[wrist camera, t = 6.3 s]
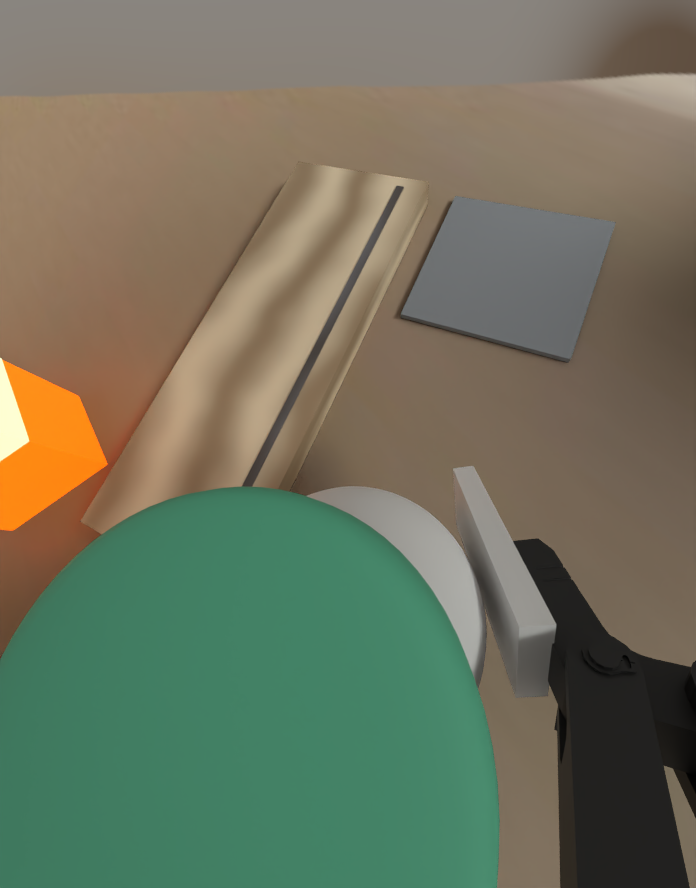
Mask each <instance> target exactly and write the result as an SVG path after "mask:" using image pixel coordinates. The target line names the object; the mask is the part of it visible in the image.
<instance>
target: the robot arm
mask: <svg viewBox="0 0 696 888" xmlns="http://www.w3.org/2000/svg"><path fill="white" fill-rule="evenodd" d="M453 479H454V495H455V512H456V525H457V528H458V531H459V533H460V536H461V539H462V542H463V545H464V548H465V551H466V554H467V557H468V560H469V562H470V564H471V567H472V569H473V571H474V574H475V576H476V579H477V582H478V585H479V588H480V591H481V595H482V599H483V603H484V607H485V609H486V612H487V615H488V618H489V621H490V624H491V627H492V630H493V633H494V636H495V639H496V642H497V645H498V647H499V650H500V653H501V656H502V659H503V662H504V665H505V668H506V671H507V674H508V677H509V680H510V683H511V685H512V688H513V691H514V694H515V697H516V698H518V697H539V696H548V689H549V685H550V687H551V689H552V692H553V694H554V696H555V698H556V701H557V703H558V710H557V716H556V723H555V729H554V730H557V738H558V788H559V838H560V887H561V888H690V887H689V882H688V878H687V873H686V868H685V864H684V859H683V854H682V850H681V845H680V840H679V836H678V831H677V826H676V822H675V817H674V813H673V808H672V803H671V799H670V794H669V789H668V785H667V780H666V775H665V771H664V766H667V767H670V768H673V770H674V772H675V774H676V776H677V778H678V780H679V783H680V785H681V787H682V789H683V791H684V794H685V796H686V798H687V800H688V802H689V805H690V807H691V809H692V811H693V813H694V815H695V818H696V661H695V662H693V664H692V666H691V667H687V666H683V665H679V664H674V663H670V662H665V661H661V660H656V659H652V658H649V657H645V656H642V655H640V654H637V653H635V652H633V651H631V650H630V649H629V648H628V647H627V646H626V645H624V644H623V643H622V642H620V641H619V640H617V639H616V638H614V637H612V636H610V635H609V634H608V632H607V631H606V630H605V629H604V627H603V626H602V625H601V623H600V621H599V620H598V618H597V617H596V615H595V614H594V612H593V611H592V609H591V608H590V606H589V604H588V603H587V601H586V600H585V598H584V597H583V595H582V594H581V592H580V591H579V589H578V588H577V586H576V584H575V583H574V581H573V580H571V577H570V575H569V574H568V572H567V571H566V569H565V568H563V564H562V563H561V561H560V560H559V558H558V557H557V555H556V554H555V552H554V551H553V550H552V549H551V548H550V547H548V546H547V545H546V544H545V543H543V542H542V541H541V540H539V539H529V540H519V541H512V539H511V537H510V535H509V533H508V531H507V529H506V527H505V525H504V524H503V522H502V520H501V518H500V516H499V514H498V512H497V510H496V508H495V506H494V504H493V503H492V501H491V499H490V497H489V495H488V493H487V491H486V489H485V487H484V485H483V483H482V482H481V480H480V478H479V476H478V474H477V472H476V470H475V468H474V466H468V467H460V468H453ZM663 765H664V766H663Z"/></svg>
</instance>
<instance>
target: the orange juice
mask: <svg viewBox="0 0 696 888" xmlns="http://www.w3.org/2000/svg"><path fill="white" fill-rule="evenodd" d="M106 465H108V464H107V461H106V459H105V457H104V454H103V452H102V450H101V447H100V445H99V443H98V440H97V438H96V436H95V433H94V431H93V428H92V426H91V424H90V421H89V419H88V417H87V414H86V412H85V410H84V407H83V405H82V403H81V400H80V398H79V396H77V395H75V394H73V393H71V392H69V391H67V390H65V389H63V388H61V387H58V386H56V385H54V384H52V383H50V382H48V381H46V380H44V379H42V378H40V377H37V376H35V375H33V374H31V373H29V372H27V371H25V370H23V369H21V368H19V367H16V366H14V365H12V364H10V363H8V362H6V361H4V360H2V358H0V530H15V529H16V528H17V527H19V526H20V525H22V524H23V523H25V522H26V521H27V520H29V519H30V518H32V517H33V516H35V515H36V514H37V513H39V512H40V511H42V510H43V509H45V508H46V507H48V506H49V505H50V504H52V503H53V502H55V501H56V500H58V499H59V498H60V497H62V496H63V495H65V494H66V493H68V492H69V491H70V490H72V489H73V488H75V487H76V486H78V485H79V484H80V483H82V482H83V481H85V480H86V479H88V478H89V477H90V476H92V475H93V474H95V473H96V472H98V471H99V470H100V469H102V468H103V467H105V466H106Z"/></svg>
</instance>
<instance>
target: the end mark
mask: <svg viewBox="0 0 696 888" xmlns="http://www.w3.org/2000/svg"><path fill="white" fill-rule="evenodd" d="M615 223H616V222H611V221H605V220H599V219H593V218H587V217H581V216H575V215H568V214H562V213H556V212H550V211H544V210H538V209H532V208H526V207H519V206H513V205H507V204H501V203H495V202H489V201H483V200H477V199H470V198H464V197H458V196H455V198H454V200H453V202H452V205H451V207H450V209H449V211H448V213H447V215H446V217H445V220H444V222H443V224H442V226H441V228H440V230H439V233H438V235H437V237H436V239H435V241H434V243H433V245H432V248H431V250H430V252H429V254H428V256H427V258H426V261H425V263H424V265H423V267H422V269H421V271H420V274H419V276H418V278H417V280H416V282H415V284H414V286H413V289H412V291H411V293H410V295H409V297H408V299H407V302H406V304H405V306H404V308H403V310H402V312H401V318H405V319H409V320H412V321H416V322H420V323H423V324H427V325H431V326H435V327H438V328H442V329H446V330H449V331H453V332H457V333H461V334H464V335H468V336H472V337H475V338H479V339H483V340H487V341H490V342H494V343H498V344H501V345H505V346H509V347H513V348H516V349H520V350H524V351H527V352H531V353H535V354H539V355H542V356H546V357H550V358H553V359H557V360H561V361H565V362H569V361H570V360H571V357H572V354H573V351H574V348H575V345H576V342H577V339H578V336H579V333H580V330H581V327H582V324H583V321H584V318H585V314H586V311H587V308H588V305H589V302H590V299H591V296H592V293H593V290H594V287H595V284H596V281H597V278H598V275H599V272H600V269H601V266H602V263H603V260H604V257H605V254H606V250H607V247H608V244H609V241H610V238H611V235H612V232H613V229H614V226H615Z"/></svg>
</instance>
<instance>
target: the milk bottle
mask: <svg viewBox="0 0 696 888" xmlns="http://www.w3.org/2000/svg"><path fill="white" fill-rule="evenodd" d="M486 634H487V632H486V617H485V610H484V603H483V599H482V595H481V591H480V588H479V585H478V582H477V579H476V576H475V574H474V571H473V569H472V567H471V564H470V562H469V561H468V559H467V557H466V555H465V553H464V552H463V550H462V548H461V547H460V546H459V544H458V543H457V541H456V540H455V538H454V537H453V536H452V535H451V533H450V532H449V531H448V530H447V529H446V528H445V527H444V526H443V525H442V524H441V523H440V522H439V521H438V520H437V519H436V518H435V517H434V516H433V515H431V514H430V513H429V512H428V511H426V510H425V509H423V508H422V507H420V506H419V505H417V504H415V503H414V502H412V501H410V500H408V499H406V498H404V497H402V496H400V495H397V494H395V493H392V492H389V491H386V490H381V489H377V488H371V487H363V486H347V487H337V488H331V489H326V490H322V491H319V492H315V493H312V494H310V495H307V496H304V495H301V494H297V493H293V492H289V491H285V490H280V489H273V488H265V487H244V486H240V487H227V488H218V489H212V490H206V491H201V492H195V493H189V494H185V495H182V496H178V497H175V498H171V499H168V500H165V501H163V502H160V503H158V504H155V505H152V506H150V507H147V508H145V509H143V510H141V511H139V512H137V513H135V514H133V515H131V516H129V517H128V518H126V519H125V520H123V521H121V522H120V523H118V524H116V525H115V526H113V527H112V528H110V529H109V530H107V531H106V532H105V533H103V534H102V535H100V536H99V537H98V538H96V539H95V540H94V541H92V542H91V543H90V544H89V545H88V546H87V547H85V548H84V549H83V550H82V551H81V552H80V553H79V554H77V555H76V556H75V557H74V558H73V559H72V560H71V561H70V562H69V563H68V564H67V565H66V566H65V567H64V568H63V569H62V570H61V571H60V572H59V573H58V574H57V576H56V577H55V578H54V579H53V580H52V582H51V583H50V584H49V585H48V586H47V587H46V589H45V590H44V591H43V592H42V593H41V595H40V596H39V598H38V599H37V600H36V602H35V603H34V604H33V606H32V607H31V609H30V610H29V611H28V613H27V614H26V616H25V617H24V619H23V620H22V622H21V624H20V625H19V627H18V628H17V630H16V632H15V633H14V635H13V636H12V638H11V640H10V642H9V644H8V646H7V648H6V649H5V651H4V653H3V655H2V657H1V659H0V888H497V875H498V859H499V822H500V820H499V802H498V784H497V776H496V768H495V761H494V754H493V747H492V742H491V737H490V733H489V728H488V724H487V719H486V715H485V711H484V707H483V704H482V701H481V698H480V694H479V691H478V687H479V684H480V680H481V676H482V672H483V667H484V659H485V652H486Z"/></svg>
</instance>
